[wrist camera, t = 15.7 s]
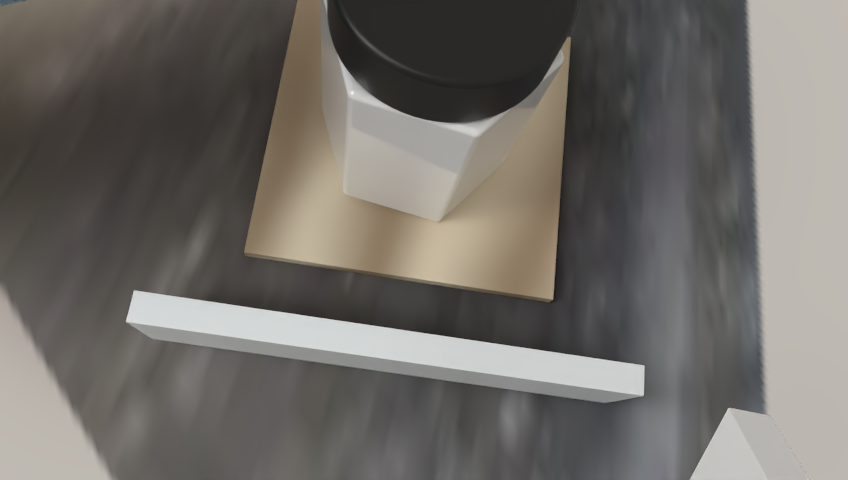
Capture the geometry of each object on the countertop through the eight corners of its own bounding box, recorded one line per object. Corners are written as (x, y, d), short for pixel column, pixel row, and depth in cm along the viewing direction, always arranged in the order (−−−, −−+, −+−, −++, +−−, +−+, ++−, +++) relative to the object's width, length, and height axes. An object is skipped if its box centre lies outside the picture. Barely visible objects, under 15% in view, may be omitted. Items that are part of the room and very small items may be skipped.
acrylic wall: (151, 338, 29) (125, 321, 26) (158, 311, 30) (134, 290, 26) (605, 403, 31) (643, 395, 27) (606, 376, 32) (644, 365, 28)
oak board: (245, 255, 31) (243, 252, 30) (301, -6, 35) (300, -14, 35) (549, 302, 32) (553, 299, 32) (567, 43, 37) (570, 37, 36)
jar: (520, 91, 35) (614, -86, 23) (483, 240, 32) (568, 123, 21) (347, 37, 34) (357, -170, 23) (295, 184, 32) (277, 33, 20)
